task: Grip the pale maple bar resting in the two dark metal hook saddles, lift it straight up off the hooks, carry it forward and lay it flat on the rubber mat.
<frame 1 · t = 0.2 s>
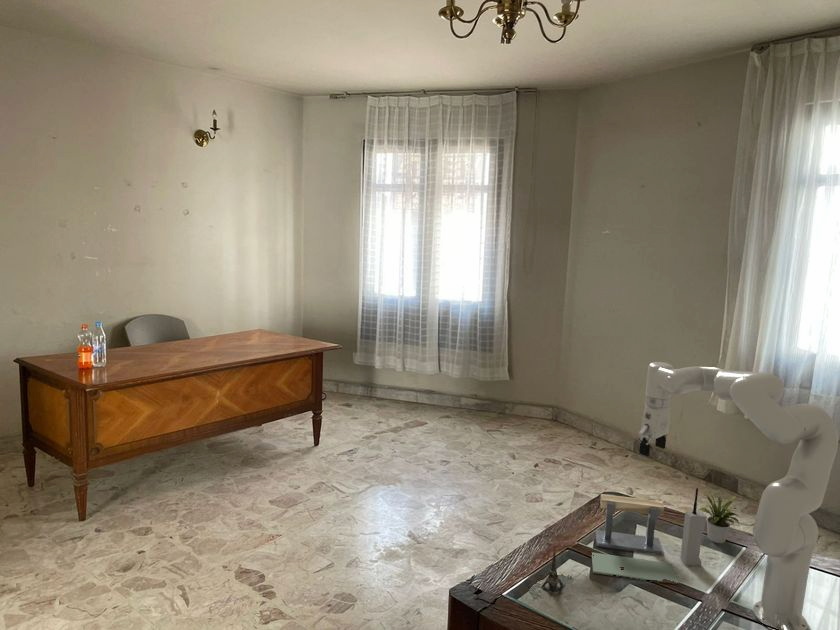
hand: (652, 451, 194), 31 cm above the table, tool pointing down, fingers open, 9 cm apart
maple rail: (631, 509, 194), point 12 cm above the table, touching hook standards
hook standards: (627, 543, 196), on the table
rubber mat: (633, 568, 183), on the table
house plant: (712, 539, 200), on the table
vintage mobile phone: (690, 563, 186), on the table
eiffel tower figurine: (552, 587, 174), on the table
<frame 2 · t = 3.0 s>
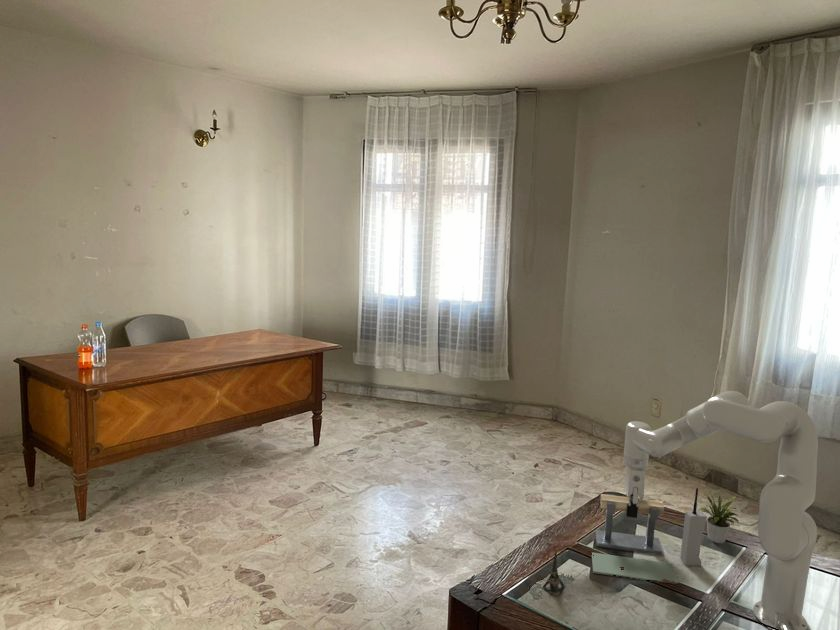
hand: (630, 512, 194), 11 cm above the table, tool pointing down, fingers closed on maple rail, 4 cm apart
maple rail: (631, 509, 194), point 12 cm above the table, touching gripper, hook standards
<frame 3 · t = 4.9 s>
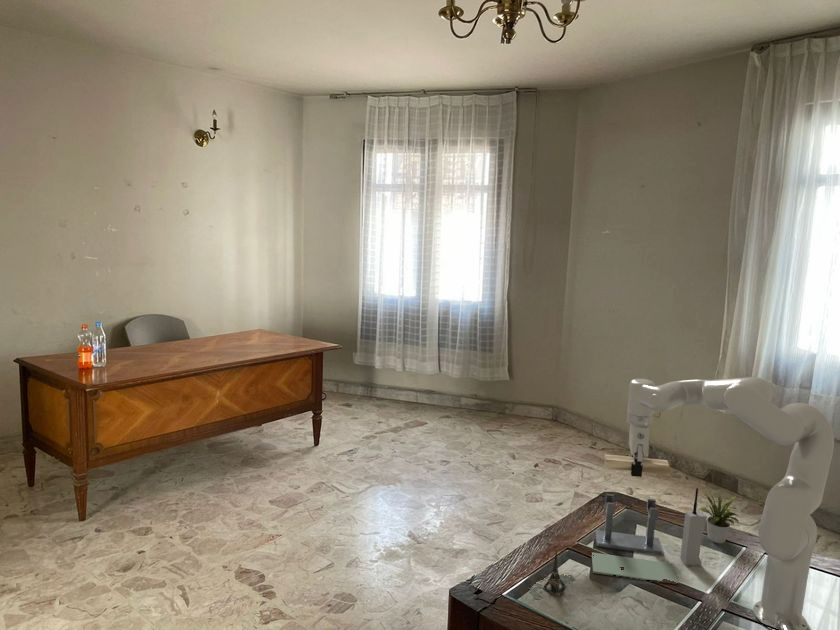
hand: (635, 472, 191), 25 cm above the table, tool pointing down, fingers closed on maple rail, 4 cm apart
maple rail: (635, 468, 191), point 27 cm above the table, touching gripper
everything else where it was.
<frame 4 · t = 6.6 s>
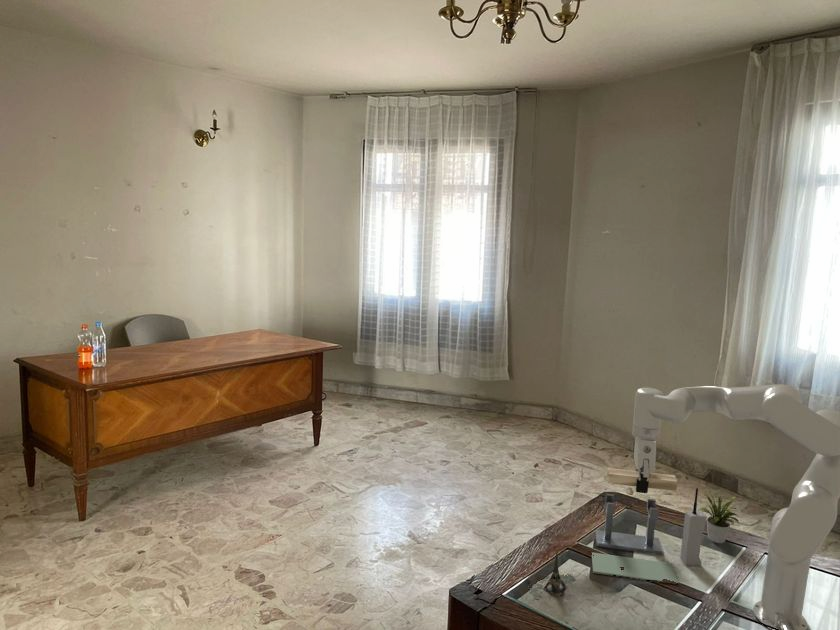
hand: (640, 488, 178), 27 cm above the table, tool pointing down, fingers closed on maple rail, 4 cm apart
maple rail: (640, 483, 177), point 28 cm above the table, touching gripper
everything else where it was.
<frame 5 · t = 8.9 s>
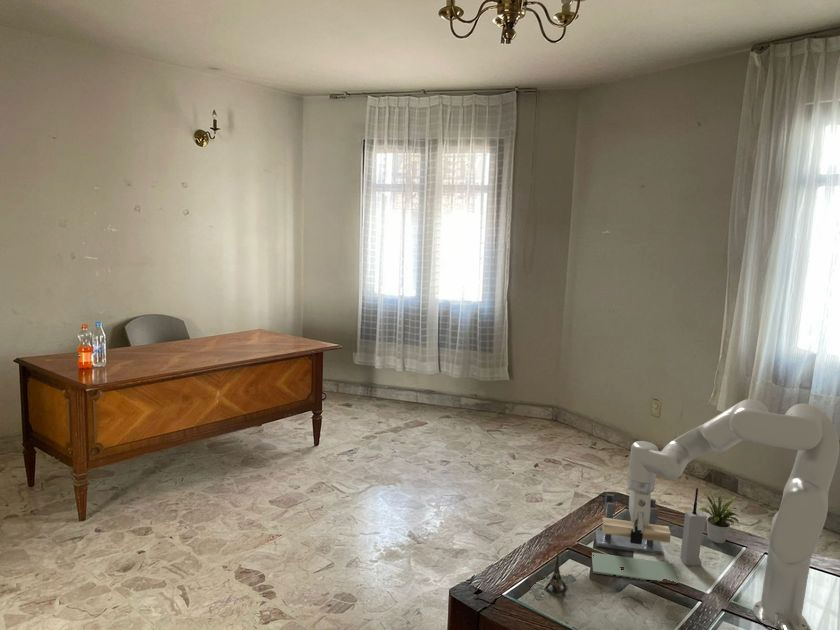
hand: (634, 538, 181), 10 cm above the table, tool pointing down, fingers closed on maple rail, 4 cm apart
maple rail: (635, 534, 181), point 12 cm above the table, touching gripper
when the fingers open (1 cm above the table, at t = 10.7 s): maple rail drops 2 cm, resting on rubber mat.
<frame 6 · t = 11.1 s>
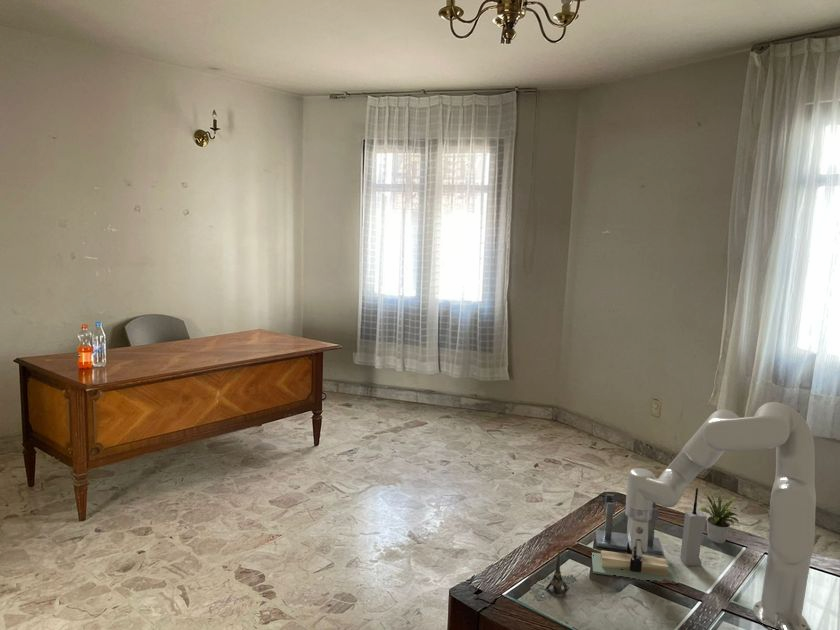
hand: (633, 562, 182), 2 cm above the table, tool pointing down, fingers open, 7 cm apart
maple rail: (633, 567, 183), point 1 cm above the table, touching rubber mat
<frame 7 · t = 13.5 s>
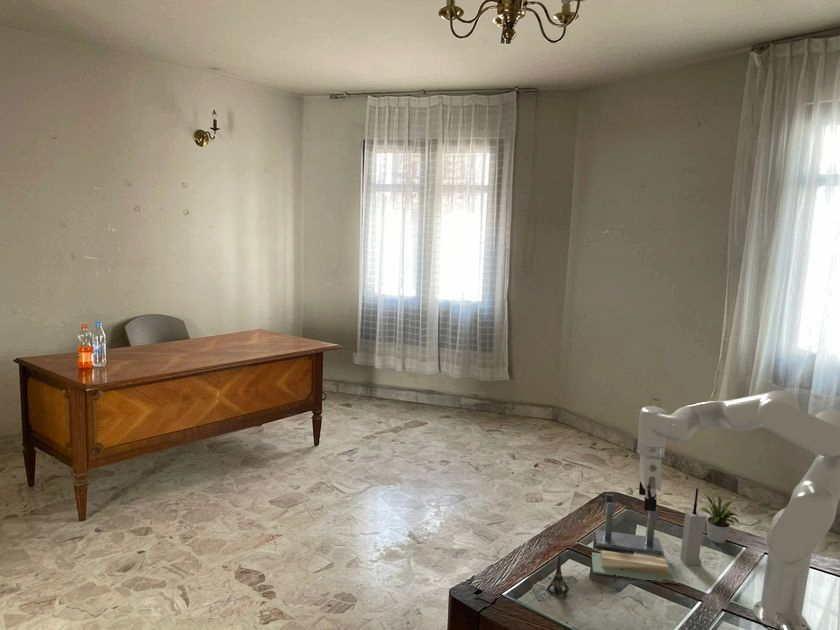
hand: (647, 502, 179), 22 cm above the table, tool pointing down, fingers open, 9 cm apart
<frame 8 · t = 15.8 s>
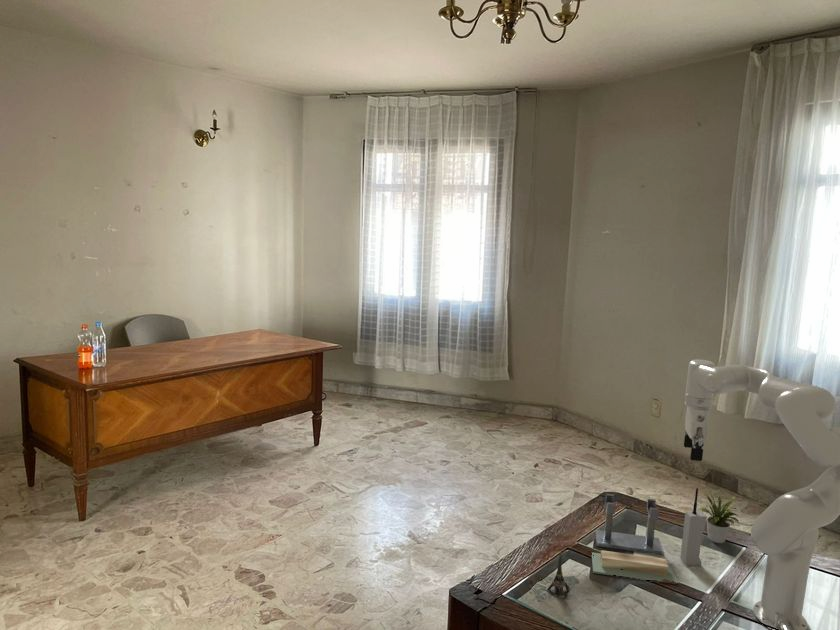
hand: (692, 453, 184), 34 cm above the table, tool pointing down, fingers open, 9 cm apart
at the end: maple rail inside the target area (0.0 cm from its centre), point 0.6 cm above the table; maple rail tilted 0°; the gripper is holding nothing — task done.
